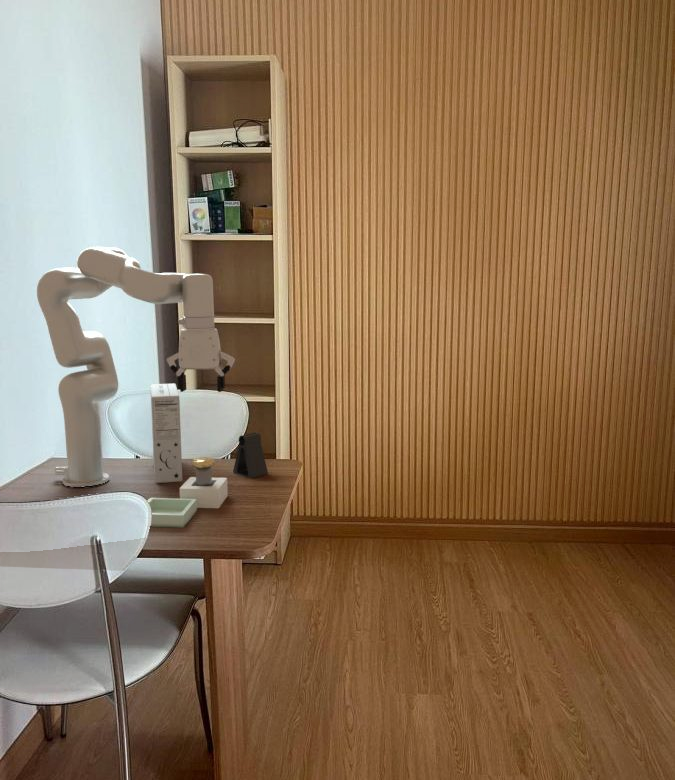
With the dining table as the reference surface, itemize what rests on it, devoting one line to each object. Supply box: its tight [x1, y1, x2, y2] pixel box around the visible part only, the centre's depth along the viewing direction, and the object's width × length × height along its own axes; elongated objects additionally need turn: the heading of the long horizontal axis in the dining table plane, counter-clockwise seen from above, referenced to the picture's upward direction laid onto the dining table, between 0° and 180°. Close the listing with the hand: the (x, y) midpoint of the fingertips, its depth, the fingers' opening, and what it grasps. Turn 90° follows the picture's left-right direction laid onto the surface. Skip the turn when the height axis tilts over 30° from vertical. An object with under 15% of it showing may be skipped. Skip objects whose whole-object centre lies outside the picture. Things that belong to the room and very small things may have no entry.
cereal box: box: [149, 383, 183, 484], centre depth 214 cm, size 22×8×25 cm, turn 15°
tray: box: [146, 497, 198, 528], centre depth 177 cm, size 12×12×3 cm
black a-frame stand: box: [232, 432, 269, 479], centre depth 213 cm, size 9×6×12 cm, turn 47°
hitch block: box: [179, 476, 229, 509], centre depth 189 cm, size 10×10×5 cm
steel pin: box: [191, 456, 215, 487], centre depth 188 cm, size 6×6×11 cm
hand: (201, 390), depth 184 cm, fingers open, 9 cm apart
